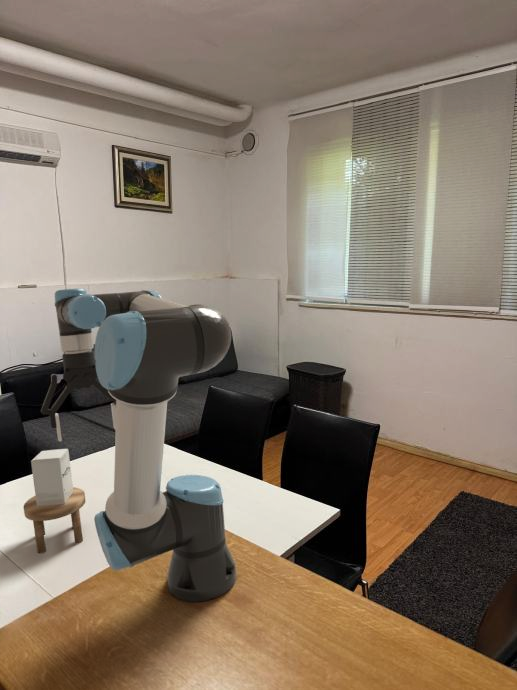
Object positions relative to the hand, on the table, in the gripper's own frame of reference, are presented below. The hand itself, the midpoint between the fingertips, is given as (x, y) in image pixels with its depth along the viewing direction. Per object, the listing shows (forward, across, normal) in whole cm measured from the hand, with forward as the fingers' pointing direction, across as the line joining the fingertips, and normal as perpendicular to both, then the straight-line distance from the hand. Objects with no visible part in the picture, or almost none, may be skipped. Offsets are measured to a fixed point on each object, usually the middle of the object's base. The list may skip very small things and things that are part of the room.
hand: (88, 434), depth 121 cm
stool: (+29, +10, -9) cm, 32 cm away
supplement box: (+18, +9, -9) cm, 22 cm away
